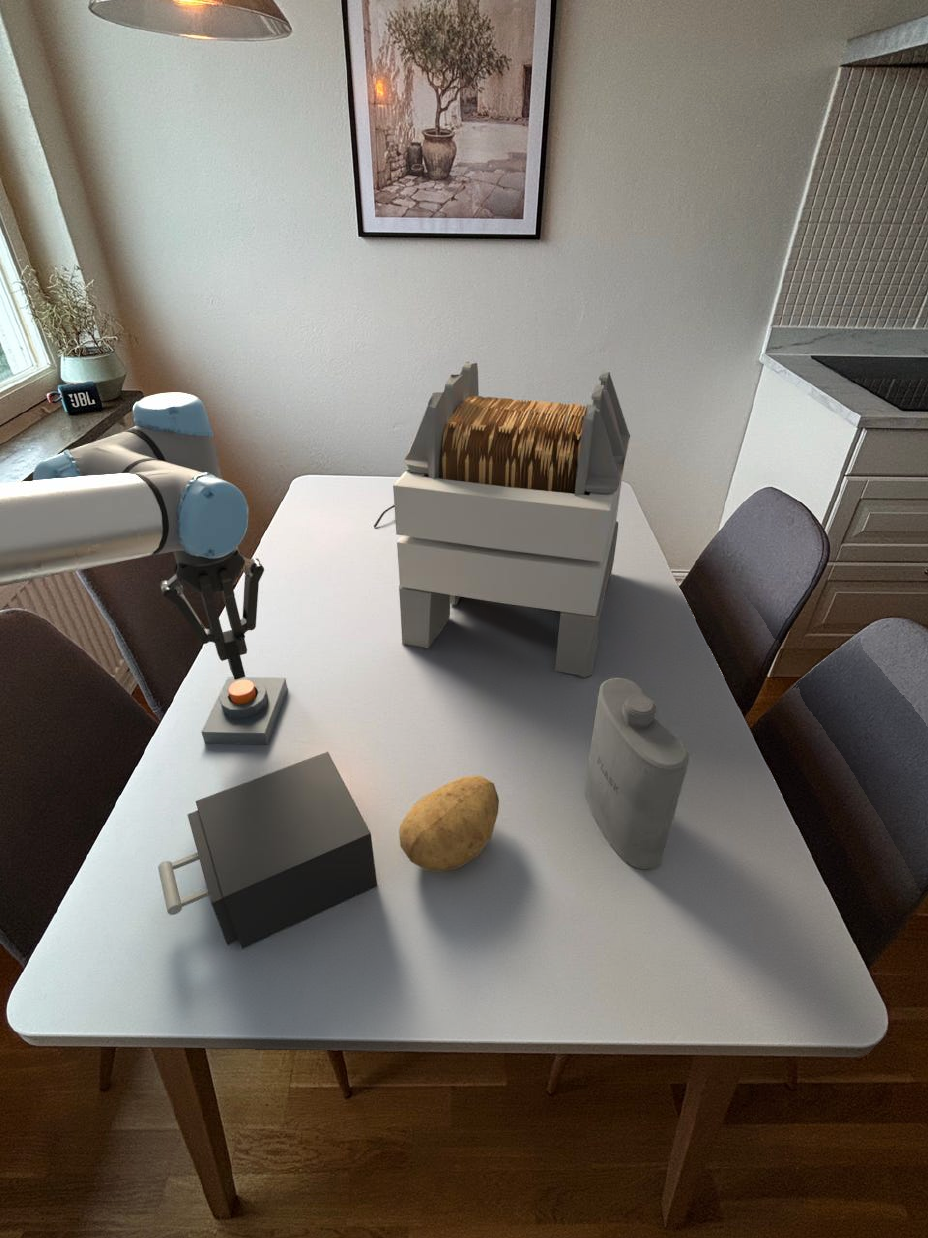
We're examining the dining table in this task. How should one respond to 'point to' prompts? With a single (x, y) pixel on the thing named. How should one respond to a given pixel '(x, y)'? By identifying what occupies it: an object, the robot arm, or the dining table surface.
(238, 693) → the button
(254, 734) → the control block
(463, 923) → the dining table surface
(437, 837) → the potato
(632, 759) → the flask
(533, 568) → the transformer
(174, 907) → the drawer
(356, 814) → the dark grey drawer cabinet
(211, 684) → the dining table surface
